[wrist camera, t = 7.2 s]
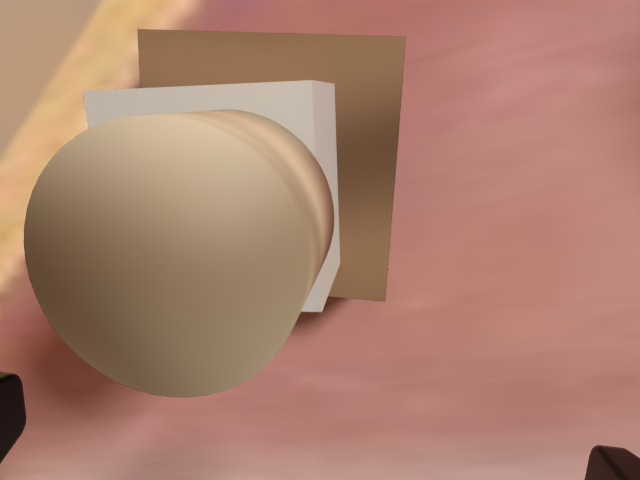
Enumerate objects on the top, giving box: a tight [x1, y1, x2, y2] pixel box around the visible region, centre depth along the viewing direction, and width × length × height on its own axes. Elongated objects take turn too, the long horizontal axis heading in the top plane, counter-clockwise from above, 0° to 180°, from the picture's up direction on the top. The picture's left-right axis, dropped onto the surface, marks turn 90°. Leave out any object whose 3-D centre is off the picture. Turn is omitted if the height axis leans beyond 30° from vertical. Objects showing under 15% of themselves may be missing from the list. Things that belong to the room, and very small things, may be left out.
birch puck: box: [24, 109, 334, 397], centre depth 11 cm, size 5×5×4 cm
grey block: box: [83, 80, 340, 312], centre depth 15 cm, size 6×6×4 cm
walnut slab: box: [138, 29, 406, 302], centre depth 18 cm, size 8×8×4 cm
